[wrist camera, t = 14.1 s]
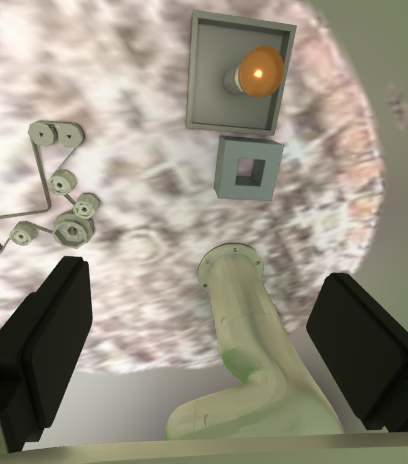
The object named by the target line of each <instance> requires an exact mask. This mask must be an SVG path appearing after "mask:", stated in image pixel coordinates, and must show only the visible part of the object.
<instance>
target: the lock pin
mask: <svg viewBox="0 0 408 464" xmlns="http://www.w3.org/2000/svg"><path fill="white" fill-rule="evenodd" d="M283 75H284V64H283V60H282V57H281V56H280V54H279V53H278V51H276V50H275V49H274V48H272V47H269V46H260V47H257V48H255V49H254V50H252V51H250V52H249V53H248V54H247V55H246V56H245V57H244V58H243V60H242V61H241V64H239V65H237V66H235V67H233V68H232V69H230V70H228V71H227V73H226V74H225V76H224V87H225V89H226V90H227V91H228V92H229V93H231V94H241V93H245V94H247V95H248V96H250V97H253V98H264V97H267V96H269V95H271V94H273V93H274V92H275V91H276V90H277V89H278V87H279V86H280V84H281V82H282V79H283Z"/></svg>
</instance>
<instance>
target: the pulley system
mask: <svg viewBox="0 0 408 464" xmlns="http://www.w3.org/2000/svg"><path fill="white" fill-rule="evenodd" d="M50 124H57V125H62V126H61V127H59V128H58V129H57V131H58V137H59V140H60V141H61V143H62V144H63V145H64V146H65V147H74V149H73V151H72V152H71V153H70V154H69V156H68V157H67V158H66V159H65V160H64V162H65V161H66V160H67V159H68V158H69V157H70V155H71V154H72V153H73V152H74V151H75V150H76V148H77V147H78V146H79V145H80V144H81V143H82V142H83V139H84V134H83V132H82V130H81V128H80V127H79V126H78V125H77V124H76V123H67V122H53V121H37V122H34V123H32V124H30V127H29V131H28V134H29V136H30V139H31V143H32V147H33V150H34V154H35V158H36V162H37V166H38V170H39V173H40V177H41V181H42V185H43V189H44V192H45V196H46V200H47V204H48V209H47V210H41V211H34V212H26V213H19V214H11V215H3V216H0V219H3V218H10V217H17V216H23V215H30V214H37V213H43V212H47V211H48V210H49V208H50V207H51V203H50V198H49V194H48V190H47V186H46V182H45V178H44V173H43V169H42V165H41V161H40V157H39V153H38V148H37V145H42V146H47V145H50V144H52V143H54V142H56V137H57V134H56V132H55V130H54V128H53V126H51V125H50ZM64 162H63V163H62V164H61V165H60V167H61V166H62V165H63V164H64ZM60 167H59V168H60ZM59 168H58V169H59ZM58 169H57V170H56V172H57V171H58ZM56 172H55V173H56ZM55 173H54V174H55ZM54 174H53V175H52V176H51V178H50V179H49V180H48V181H47V183H48V186H49V188H50V191H52V192H53V193H55V194H56V195H64V196H65V197H66V198H67V199H68V200H69V201H70V202H71V203H72V204H73V205H74V207H73V211H70V212H66V213H64V214H63V215H60V216H58V217H57V220H56V221H55V222H54V230H53V231H51V230H49V229H46V228H43V227H41V226H38V225H36V224H33V223H31V222H28V221H22V222H19V223H18V224H17V225H16V227H15V228H14V229H13V230H12V231H11V233H10V236H9V238H8V240H7V241H6V243H5V245H4V246H3V248H2V247H1V244H0V253H1V252H2V251H3V249H4V248H5V246H6V244H7V243H8V241H9V239H11V240H12V241H13V242H15V243H16V244H19V245H22V246H24V245H28V244H29V243H30V242H31V240H32V239H33V238H34V237H35V236H36V235H37V229H39V230H42V231H45V232H48V233H51V234H53V236H54V238H55V241H56V242H58V243H59V244H61V245H62V246H64V247H70V248H75V249H78V248H79V247H80V246H82V245H83V244H84V243H87V242H88V241H89V240H90V238H91V237H92V235H93V230H94V225H93V221H92V219H91V218H90V217H92V216H93V215H94V213H95V212H96V210H97V208H98V205H99V201H98V200H97V199H96V198H95V197H94V196H93V195H89V194H85V195H80V197H79V198H78V200H77V202H75V201H74V200H73V199H72V198H71V197H70V196H69V195H68V193H69V192H70V190H71V189H72V188H73V187H74V186H75V185H76V183H77V181H76V178H75V176H74V175H73V174H71V173H70V172H68V171H65V170H62V171H58V172H57V173H56V174H55V175H54ZM73 227H75V228H77V229H74V228H73ZM36 228H37V229H36Z"/></svg>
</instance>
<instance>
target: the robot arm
mask: <svg viewBox="0 0 408 464" xmlns="http://www.w3.org/2000/svg"><path fill="white" fill-rule="evenodd" d="M262 275H263V264H262V261H261V259H260V257H259V255H258V254H257V253H256V252H255V251H254V250H253V249H251V248H250V247H248V246H245V245H241V244H226V245H222V246H219V247H217V248H215V249H213V250H212V251H210V252H209V253H208V254H207V255H206V256H205V257H204V258H203V260H202V261H201V263H200V265H199V269H198V279H199V283H200V285H201V287H202V288H203V290H204V291H205V292H206V293H208V294H209V295H210V301H211V306H212V312H213V318H214V324H215V329H216V335H217V341H218V346H219V351H220V355H221V358H222V360H223V362H224V364H225V365H226V367H227V368H228V370H229V371H230V372H231V373H232V374H233V375H234V376H235V377H236V378H237V379H238V380H240V381H241V382H242V383H243V384H240V385H238V386H235V387H233V388H230V389H227V390H224V391H220V392H217V393H214V394H211V395H208V396H204V397H201V398H199V399H196V400H193V401H190V402H188V403H185V404H183V405H181V406H180V407H178V408H177V409H176V410H175V411H174V412H173V413H172V415H171V416H170V418H169V420H168V422H167V426H166V430H165V439H164V441H150V442H127V443H112V444H95V445H79V446H63V447H53V448H45V449H36V450H27V451H22V449H23V446H24V444H25V442H39V440H40V438H41V435H42V433H43V430H44V428H49V427H51V425H52V423H53V421H54V419H55V416H56V413H57V411H58V409H59V406H60V404H61V401H62V399H63V396H64V393H65V391H66V388H67V386H68V383H69V381H70V378H71V376H72V373H73V371H74V369H75V366H76V363H77V361H78V358H79V356H80V353H81V351H82V348H83V346H84V343H85V341H86V338H87V336H88V333H89V331H90V328H91V325H92V319H93V316H92V303H91V290H90V277H89V264H88V262H87V261H83V258H82V257H74V256H64V257H63V258H62V259H61V260H60V262H59V263H58V264H57V265H56V267H55V268H54V269H53V271H52V272H51V273H50V275H49V276H48V277H47V278H46V280H45V281H44V282H43V284H42V285H41V286H40V287H39V289H38V290H37V291H36V292H32V293H30V294H29V295H28V296H27V297H26V298H25V299H24V301H23V302H22V303H21V304H20V306H19V307H18V308H17V309H16V311H15V312H14V313H13V314H12V316H11V317H10V318H9V319H8V321H7V322H6V323H5V324H4V326H3V327H2V328H1V329H0V464H408V332H407V331H406V330H405V329H404V328H403V327H402V326H401V325H400V324H399V323H398V322H397V321H396V320H395V319H394V318H393V317H392V316H391V315H390V314H389V313H388V312H387V311H386V310H385V309H384V308H383V307H382V306H381V305H380V304H379V303H378V302H377V301H375V300H374V299H373V298H372V297H371V296H370V295H369V294H368V293H367V292H366V291H365V290H364V289H363V288H362V287H361V286H360V285H359V284H358V283H357V282H356V281H355V280H354V279H353V278H352V277H351V276H350V275H349V274H346V273H331V274H330V275H329V276H327V277H326V279H325V281H324V283H323V286H322V288H321V290H320V293H319V295H318V298H317V300H316V302H315V305H314V307H313V310H312V312H311V314H310V317H309V319H308V322H307V325H306V328H307V332H308V334H309V336H310V338H311V339H312V341H313V343H314V345H315V346H316V348H317V350H318V352H319V353H320V355H321V357H322V359H323V360H324V362H325V364H326V366H327V367H328V369H329V371H330V373H331V374H332V376H333V378H334V380H335V381H336V383H337V384H338V386H339V388H340V390H341V392H342V393H343V395H344V397H345V399H346V400H347V402H348V404H349V406H350V407H351V409H352V411H353V413H354V414H355V415H356V417H358V418H359V419H360V420H361V421H362V423H363V425H364V426H365V428H366V430H381V429H382V428H383V427H384V426H385V427H386V428H387V429H388V431H389V433H361V434H345V433H344V430H343V428H342V425H341V424H340V421H339V419H338V417H337V415H336V413H335V412H334V410H333V408H332V407H331V405H330V403H329V402H328V400H327V399H326V397H325V396H324V394H323V393H322V392H321V390H320V388H319V387H318V385H317V384H316V383H315V381H314V380H313V378H312V377H311V375H310V374H309V372H308V371H307V369H306V367H305V366H304V364H303V362H302V361H301V359H300V358H299V356H298V354H297V352H296V350H295V348H294V346H293V345H292V342H291V340H290V338H289V336H288V334H287V332H286V330H285V328H284V326H283V324H282V322H281V320H280V318H279V316H278V313H277V311H276V309H275V307H274V305H273V303H272V301H271V299H270V297H269V295H268V293H267V291H266V288H265V286H264V284H263V282H262V280H261V278H262Z"/></svg>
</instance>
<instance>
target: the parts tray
mask: <svg viewBox="0 0 408 464" xmlns="http://www.w3.org/2000/svg"><path fill="white" fill-rule="evenodd" d="M296 27H297V25H290V24H283V23H277V22H270V21H264V20H257V19H250V18H244V17H237V16H231V15H224V14H217V13H211V12H204V11H198V10H193V14H192V21H191V39H190V58H189V76H188V95H187V113H186V128H193V129H204V130H215V131H226V132H238V133H249V134H260V135H271V136H274V134H275V129H276V124H277V119H278V114H279V109H280V105H281V100H282V95H283V90H284V85H285V80H286V76H287V71H288V66H289V61H290V56H291V51H292V47H293V42H294V37H295V32H296ZM260 46H269V47H272V48H274V49H275V50H276V51H278V53H279V54H280V56H281V57H282V60H283V64H284V75H283V79H282V82H281V84H280V86H279V87H278V89H277V90H276V91H275V92H274V93H273V94H271V95H269V96H267V97H264V98H253V97H250V96H248V95H247V94H245V93H241V94H231V93H229V92H228V91H227V90H226V89H225V87H224V76H225V74H226V73H227V71H228V70H230V69H232V68H233V67H235V66H237V65H239V64H241V61H242V60H243V58H244V57H245V56H246V55H247V54H248V53H249V52H250V51H252V50H254V49H255V48H257V47H260Z"/></svg>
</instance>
